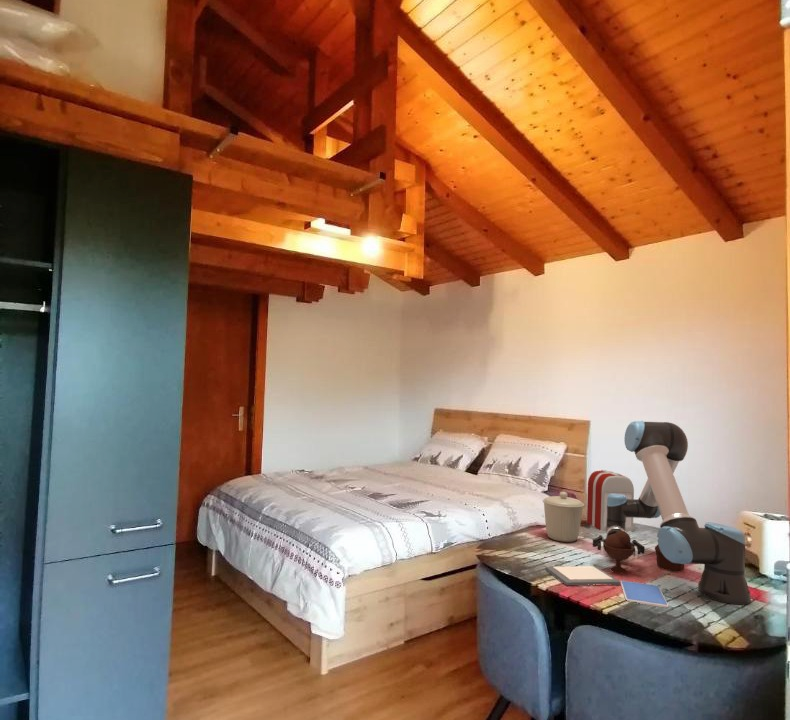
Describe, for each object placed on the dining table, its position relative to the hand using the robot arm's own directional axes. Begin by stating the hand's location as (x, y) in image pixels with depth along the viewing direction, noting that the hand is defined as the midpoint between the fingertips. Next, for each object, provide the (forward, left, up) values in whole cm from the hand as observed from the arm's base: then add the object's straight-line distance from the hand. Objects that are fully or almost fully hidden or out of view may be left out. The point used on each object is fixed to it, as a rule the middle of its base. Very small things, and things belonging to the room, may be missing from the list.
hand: (619, 552), depth 199 cm
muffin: (+6, -26, -8) cm, 28 cm away
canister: (+45, -1, -8) cm, 46 cm away
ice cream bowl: (+3, -2, -8) cm, 9 cm away
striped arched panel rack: (+66, -37, -8) cm, 77 cm away
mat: (-3, +16, -8) cm, 18 cm away
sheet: (-3, +16, -7) cm, 18 cm away
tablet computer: (-19, +3, -9) cm, 21 cm away
